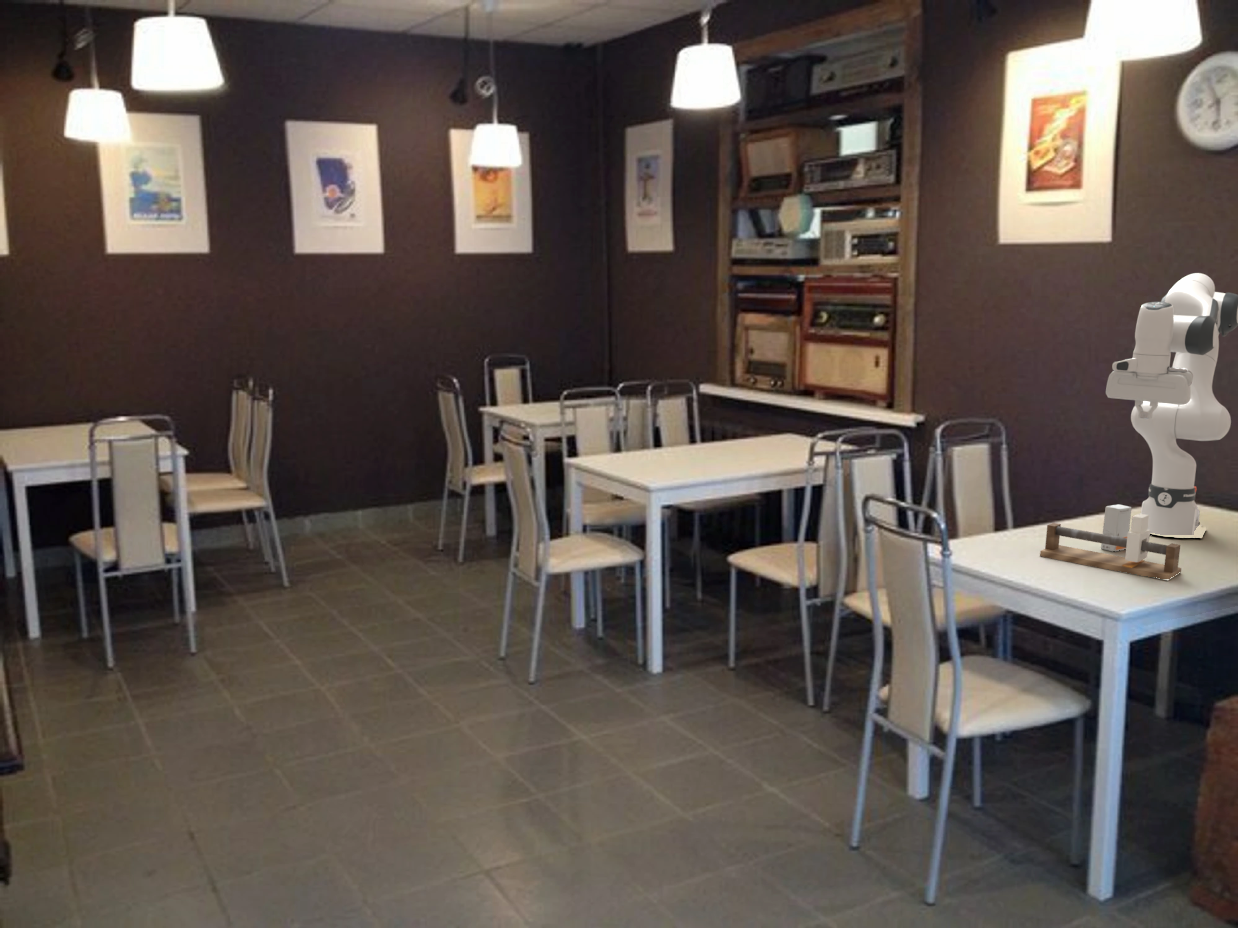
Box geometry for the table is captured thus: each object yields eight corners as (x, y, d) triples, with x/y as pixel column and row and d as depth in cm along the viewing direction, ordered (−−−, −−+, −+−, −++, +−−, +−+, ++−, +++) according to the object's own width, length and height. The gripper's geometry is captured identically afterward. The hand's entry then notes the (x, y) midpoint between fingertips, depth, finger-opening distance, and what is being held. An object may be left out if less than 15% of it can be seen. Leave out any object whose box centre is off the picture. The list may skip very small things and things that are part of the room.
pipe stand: (1040, 556, 298) (1042, 526, 297) (1055, 549, 305) (1057, 521, 304) (1167, 581, 277) (1171, 549, 275) (1180, 573, 284) (1184, 542, 282)
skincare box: (1114, 552, 304) (1119, 509, 302) (1100, 548, 307) (1104, 506, 305) (1127, 549, 307) (1132, 506, 305) (1113, 546, 311) (1118, 503, 309)
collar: (1124, 560, 284) (1129, 516, 282) (1134, 555, 290) (1139, 512, 288) (1137, 562, 282) (1141, 518, 280) (1147, 557, 288) (1151, 514, 286)
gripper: (1197, 368, 286) (1191, 422, 288) (1115, 362, 300) (1109, 413, 302) (1189, 369, 281) (1183, 424, 284) (1106, 363, 295) (1101, 415, 297)
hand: (1144, 418), depth 293 cm, fingers closed
